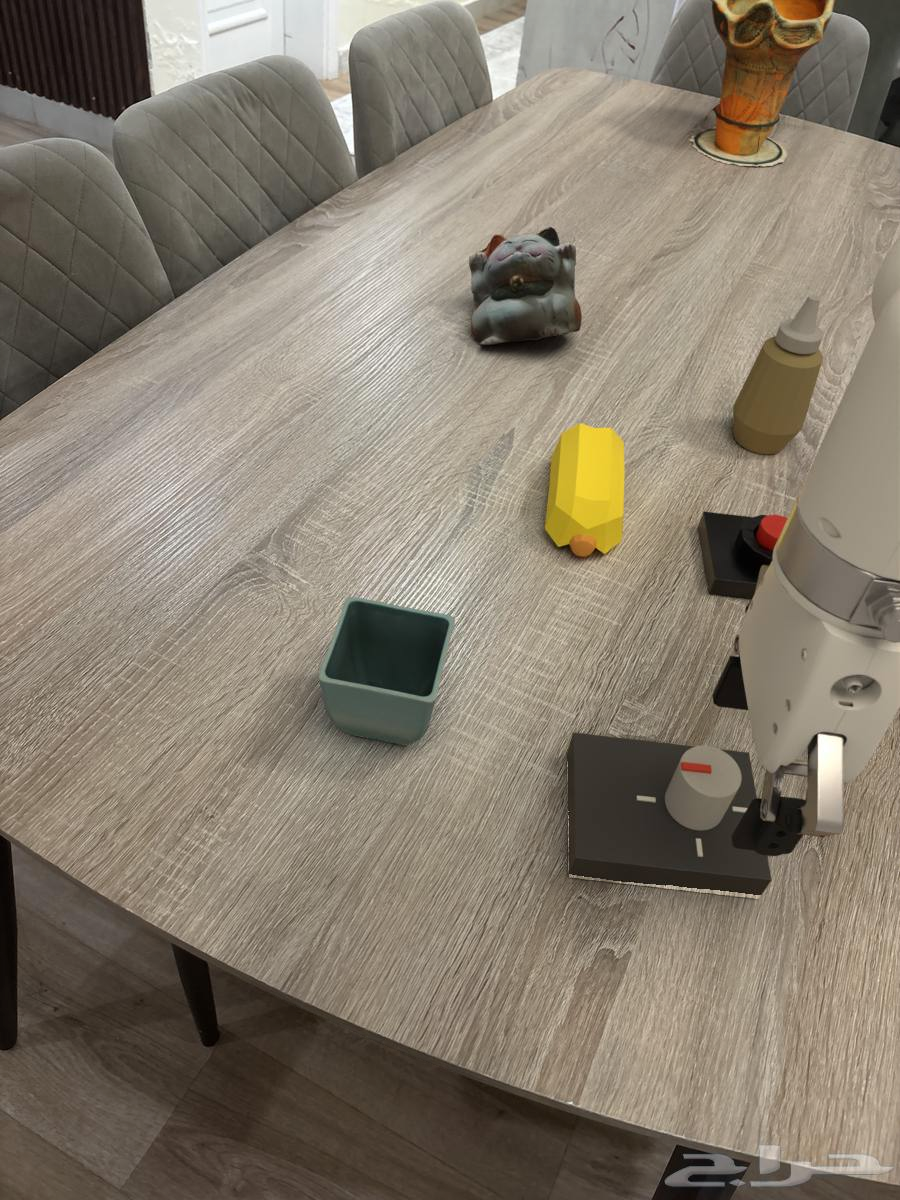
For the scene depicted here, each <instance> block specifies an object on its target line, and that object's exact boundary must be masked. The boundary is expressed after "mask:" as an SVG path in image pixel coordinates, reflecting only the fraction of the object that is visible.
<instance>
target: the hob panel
mask: <svg viewBox="0 0 900 1200" xmlns="http://www.w3.org/2000/svg"><path fill="white" fill-rule="evenodd" d="M696 746H697V745H688V744H678V743H670V742H663V741H653V740H646V739H645V740H644V739H637V738H636V739H635V738H627V737H617V736H609V735H601V734H594V733H593V734H592V733H583V732H575V731H573V732H572V735H571V738H570V741H569V744H568V749H567V752H566V762H567V761H568V811H569V812H568V815H569V819H568V820H569V874H572V875H577V876H584V877H592V878H600V879H606V880H613V881H621V882H634V883H643V884H656V885H665V886H666V885H673V886H679V887H687V888H697V889H710V890H720V891H729V892H738V893H745V894H753V895H761V896H762V895H763V894H764V892H765V891H766V890H767V888H768V887H769V885H770V884H771V882H772V881H773V879H772V875H771V868H770V863H769V858H768V857H769V856H767V855H761V854H758V853H757V852H756V851H754V850H746V849H738V848H735V847H733V844H732V834H733V833H734V831H735V829H736V827H737V826H738V824H739V822H740V821H741V819H742V817H743V815H744V814H745V812H746V810H747V808H748V807H749V805H750V803H751V802H752V800H753V799H756V798H758V797H757V789H756V784H755V780H754V778H755V777H754V772H753V767H752V762H751V755H750V752H748V751H740V750H730V749H723V748H719V749H720V750H722V751H724V752H725V753H727V754H728V755H730V756H731V757H732V758H733V759H734V761H735V762H736V763H737V765H738V767H739V769H740V771H741V777H742V779H741V785H740V787H739V789H738V791H737V792H736V794H735V796H734V798H733V800H732V802H731V803H730V805H729V807H728V809H727V811H726V812H725V814H724V816H723V818H722V820H721V821H720V823H719V824H718V825H717V826H715V827H713V828H711V829H708V830H701V831H700V830H693V829H689V828H687V827H685V826H683V825H681V824H679V823H678V822H677V821H676V820H675V819H674V818H673V817H672V816H671V815H670V813H669V812H668V810H667V808H666V804H665V794H666V791H667V789H668V786H669V784H670V782H671V780H672V778H673V775H674V773H675V771H676V769H677V767H678V764H679V762H680V760H681V758H682V756H683V754H684V753H685V752H686V751H687V750H689V749H691V748H693V747H696Z"/></svg>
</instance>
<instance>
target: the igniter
mask: <svg viewBox="0 0 900 1200" xmlns="http://www.w3.org/2000/svg"><path fill="white" fill-rule="evenodd" d="M766 516H768V514H760V515H755V516H747V515H737V514H727V513H720V512H712V511H702V514H701V517H700V520H699V523H698V525H697V531H698V538H699V544H700V548H701V557H702V562H703V566H704V567H703V568H704V573H705V574H704V575H705V581H706V586H707V593H708V595H709V596H717V597H724V598H725V597H726V598H734V599H741V600H742V599H743V600H749V601H750V600H752V599H753V597H754V594H755V590H756V586H757V581H758V577H759V573H760V569H761V567H762V565H768V566H770V564H771V562H772V560H773V557H772V556H773V551H772V550H770V549H768V548H766V547H764V546H762V545H761V544H760V543H759V542H758V541H757V540H756V533H757V530H758V528H759V526H760V523H761V521H762V519H763V518H764V517H766Z"/></svg>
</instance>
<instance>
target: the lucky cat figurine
mask: <svg viewBox="0 0 900 1200" xmlns="http://www.w3.org/2000/svg"><path fill="white" fill-rule="evenodd" d="M468 259H469V260H468V266H469V271H470V275H471V279H470V285H471V287H470V290H471V293H472V298H473V305H474V306H473V307H474V309H473V311H474V312H473V313H472V316H471V322H470V324H471V325H470V331H471V334H472V336H473V338H474V340H476V342H477V343H478V346H480V347H483V346H487V345H499V344H505V343H510V342H521V341H522V342H523V341H536V340H537V341H538V340H541V339H544V338H551V337H558V336H564V335H567V334H571V333H577V332H580V330H581V326H582V319H583V314H582V309H581V305H580V302H579V301H578V300H577V298H576V289H575V287H576V284H575V283H576V265H577V250H576V246H575V245H574V244H573V243H571V242H565V243H561V244H560V237H559V235H558V232H557V230H556V229H555V228H554V227H552V226H549V227H546V228H545V229H542V230H540V231H539V232H537V233H535V234H534V233H530V232H525V233H522V234H517V235H513V236H510V237H508V238H507V237H505V236H504V235H503V234H494V235H492V237H491V239H490V242H488V244H487V246H486V247H485V248H484V249H482V250H479V251H477V250H476V252H475V253H474V254H473V255H469V257H468Z"/></svg>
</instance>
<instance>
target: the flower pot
mask: <svg viewBox="0 0 900 1200" xmlns="http://www.w3.org/2000/svg"><path fill="white" fill-rule="evenodd" d="M455 623H456V619H455V617H454V616H451V615H449V614H446V613H442V612H436V611H430V610H424V609H418V608H412V607H407V606H402V605H396V604H393V603H387V602H383V601H377V600H373V599H368V598H363V597H358V596H357V597H356V596H348V597H346V598H345V600H344V602H343V605H342V608H341V611H340V613H339V616H338V620H337V622H336V625H335V629H334V630H333V631H334V632H333V635H332V636H331V640H330V642H329V646H328V647H327V651H326V653H325V655H324V659H323V661H322V664H321V666H320V668H319V671H318V677H317V678H318V683H319V687H320V692H321V697H322V700H323V704H324V708H325V711H326V715H327V716H328V718H329V719H330V721H331V722H332V723H333V725H335V727H337V728H338V729H340V730H341V731H343V732H345V733H347V734H348V735H351V734H352V735H351V736H355V735H357V736H356V737H360V736H363V737H362V738H365V737H368V738H367V739H370V738H373V739H372V740H375V739H378V740H377V741H380V740H382V741H381V742H385V741H387V742H386V743H390V742H392V743H391V744H395V743H396V745H400V744H402V745H401V746H408V745H412V744H414V743H417V742H419V741H420V740H421V739H422V738H423V737H424V735H425V733H427V731H428V728H429V724H430V721H431V719H432V718H431V717H432V714H433V710H434V707H435V704H436V701H437V697H438V694H439V689H440V685H441V681H442V676H443V671H444V668H445V667H444V666H445V663H446V659H447V655H448V651H449V647H450V643H451V639H452V636H453V632H454V627H455Z"/></svg>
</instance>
